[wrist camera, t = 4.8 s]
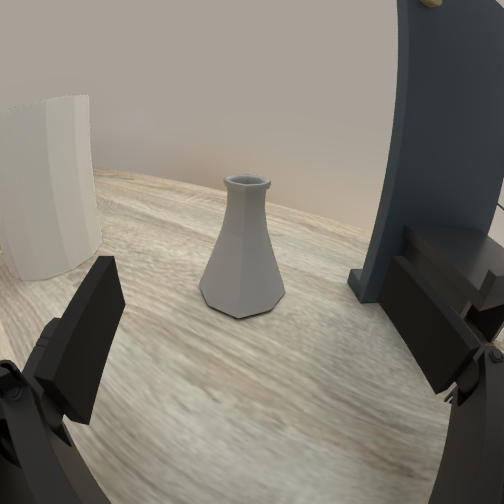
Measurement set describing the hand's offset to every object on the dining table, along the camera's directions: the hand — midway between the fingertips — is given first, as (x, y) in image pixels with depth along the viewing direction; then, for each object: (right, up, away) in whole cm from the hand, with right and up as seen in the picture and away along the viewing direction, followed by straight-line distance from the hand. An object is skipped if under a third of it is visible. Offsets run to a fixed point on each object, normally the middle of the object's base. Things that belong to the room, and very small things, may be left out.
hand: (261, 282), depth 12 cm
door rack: (+18, -5, +9) cm, 20 cm away
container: (-26, +1, +16) cm, 30 cm away
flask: (-1, -2, +12) cm, 12 cm away
